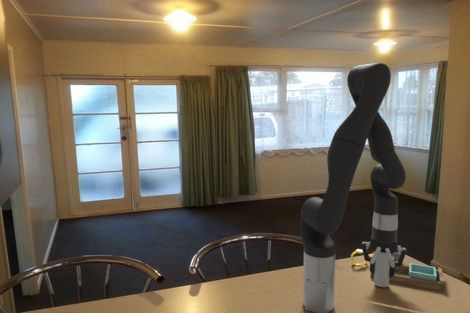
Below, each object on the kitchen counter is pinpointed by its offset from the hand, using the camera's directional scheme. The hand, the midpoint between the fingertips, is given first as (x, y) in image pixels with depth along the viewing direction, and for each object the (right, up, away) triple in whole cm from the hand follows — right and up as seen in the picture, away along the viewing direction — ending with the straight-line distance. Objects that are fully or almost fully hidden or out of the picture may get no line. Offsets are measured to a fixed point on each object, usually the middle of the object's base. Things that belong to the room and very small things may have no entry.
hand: (381, 274), depth 117 cm
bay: (+11, -3, +6) cm, 13 cm away
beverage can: (0, -4, +1) cm, 4 cm away
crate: (+15, -3, +4) cm, 16 cm away
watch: (-2, -2, +17) cm, 17 cm away
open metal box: (+10, -2, +17) cm, 20 cm away
